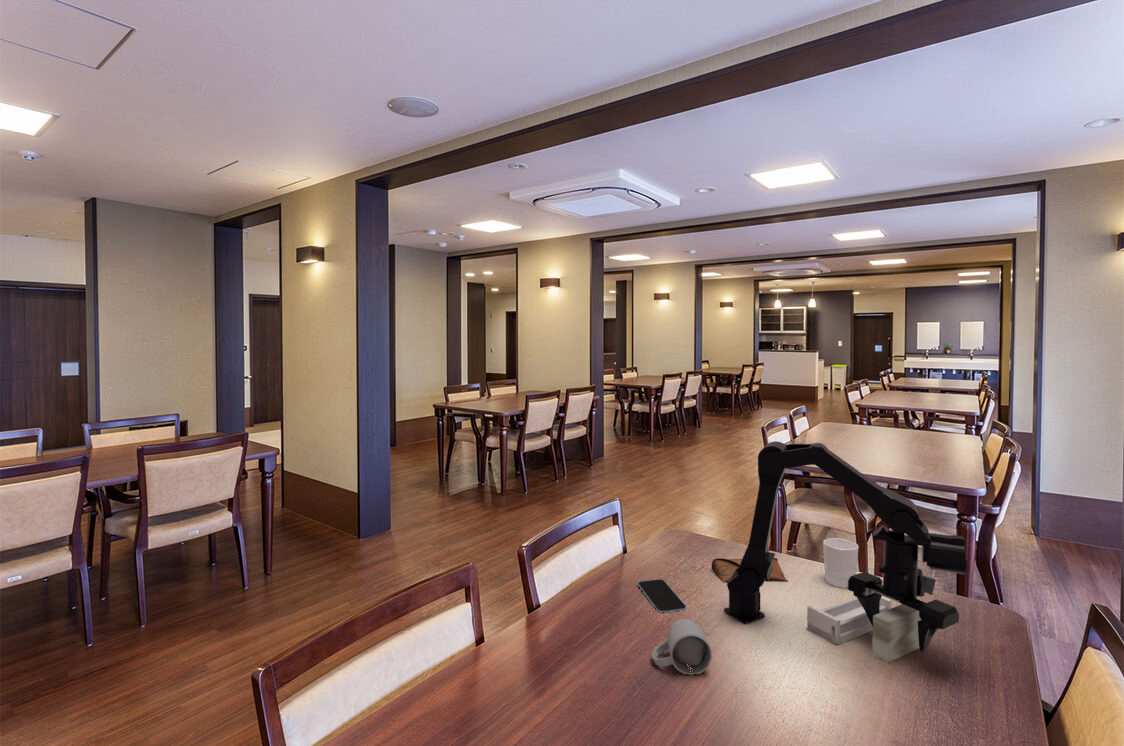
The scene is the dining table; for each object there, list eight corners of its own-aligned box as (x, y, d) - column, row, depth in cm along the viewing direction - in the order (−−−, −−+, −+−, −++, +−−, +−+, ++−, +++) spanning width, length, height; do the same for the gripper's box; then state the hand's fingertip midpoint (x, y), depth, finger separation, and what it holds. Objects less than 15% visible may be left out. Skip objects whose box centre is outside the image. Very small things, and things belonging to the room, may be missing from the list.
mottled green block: (887, 663, 104) (888, 622, 104) (872, 655, 107) (873, 615, 106) (924, 646, 110) (925, 607, 109) (908, 638, 112) (909, 601, 112)
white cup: (849, 576, 142) (850, 538, 141) (863, 590, 134) (864, 550, 133) (818, 575, 143) (818, 537, 142) (829, 589, 135) (830, 549, 134)
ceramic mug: (703, 650, 109) (702, 613, 109) (712, 675, 101) (711, 635, 101) (649, 651, 110) (648, 614, 109) (655, 676, 102) (654, 636, 101)
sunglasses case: (720, 583, 139) (716, 555, 142) (713, 586, 145) (710, 559, 148) (791, 581, 139) (785, 554, 142) (780, 584, 145) (775, 558, 148)
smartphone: (658, 611, 124) (636, 581, 139) (658, 616, 124) (636, 585, 139) (688, 608, 126) (662, 578, 140) (688, 612, 126) (662, 582, 140)
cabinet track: (836, 645, 110) (837, 621, 110) (807, 629, 117) (807, 606, 116) (891, 622, 119) (891, 600, 118) (860, 608, 125) (861, 587, 125)
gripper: (976, 572, 103) (973, 652, 104) (879, 540, 119) (878, 609, 120) (942, 585, 98) (940, 669, 99) (846, 550, 114) (845, 622, 115)
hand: (898, 639), depth 108 cm, fingers open, 9 cm apart
